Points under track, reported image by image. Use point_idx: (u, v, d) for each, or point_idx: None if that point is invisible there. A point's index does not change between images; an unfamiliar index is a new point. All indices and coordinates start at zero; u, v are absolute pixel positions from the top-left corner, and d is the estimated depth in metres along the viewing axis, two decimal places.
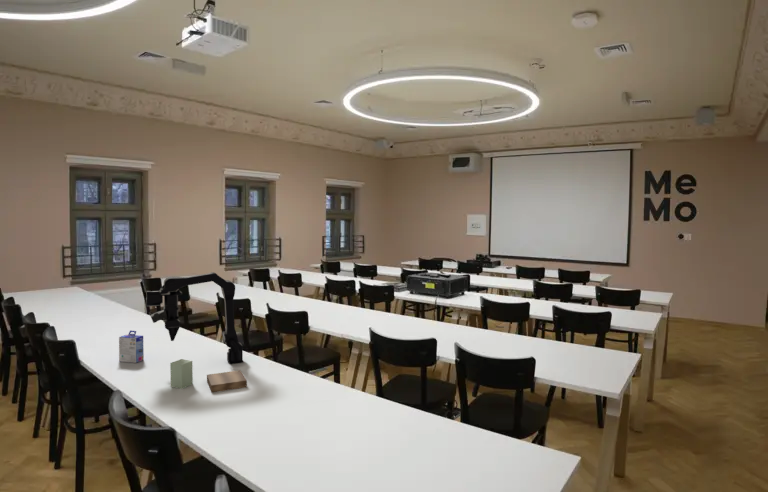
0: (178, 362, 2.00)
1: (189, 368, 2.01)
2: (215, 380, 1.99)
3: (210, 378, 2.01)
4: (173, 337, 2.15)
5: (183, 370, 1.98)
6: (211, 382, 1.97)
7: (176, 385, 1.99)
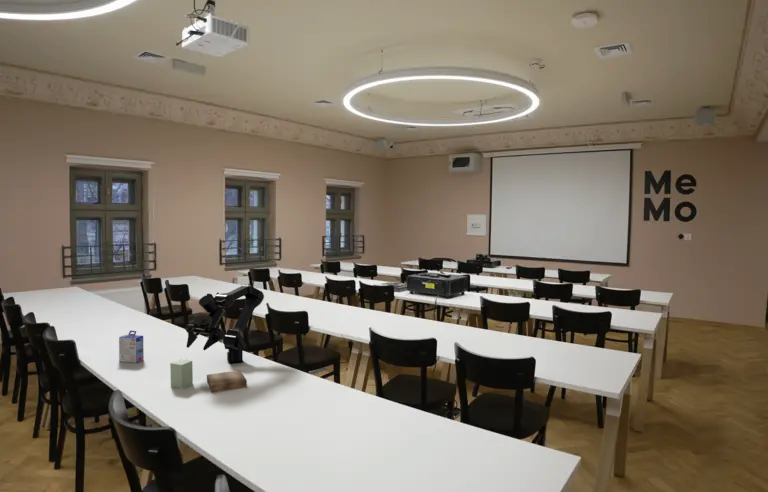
0: (178, 362, 2.00)
1: (189, 368, 2.01)
2: (215, 380, 1.99)
3: (210, 378, 2.01)
4: (207, 347, 2.07)
5: (183, 370, 1.98)
6: (211, 382, 1.97)
7: (176, 385, 1.99)
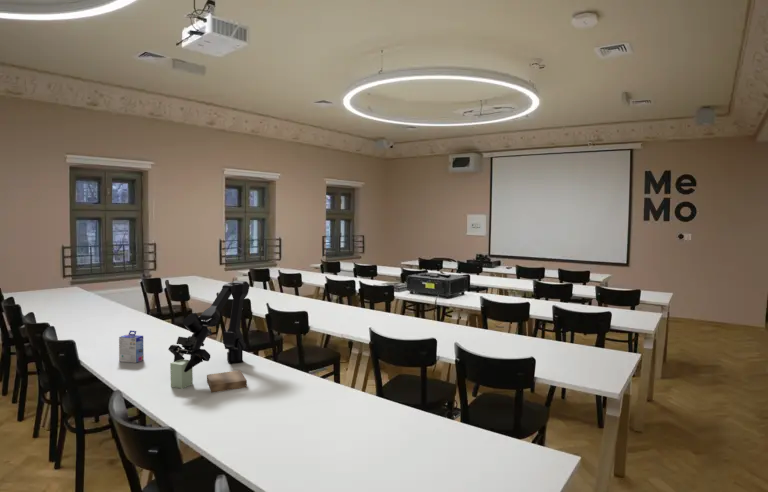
0: (178, 362, 2.00)
1: None
2: (215, 380, 1.99)
3: (210, 378, 2.01)
4: (188, 368, 2.00)
5: (183, 370, 1.98)
6: (211, 382, 1.97)
7: (176, 385, 1.99)
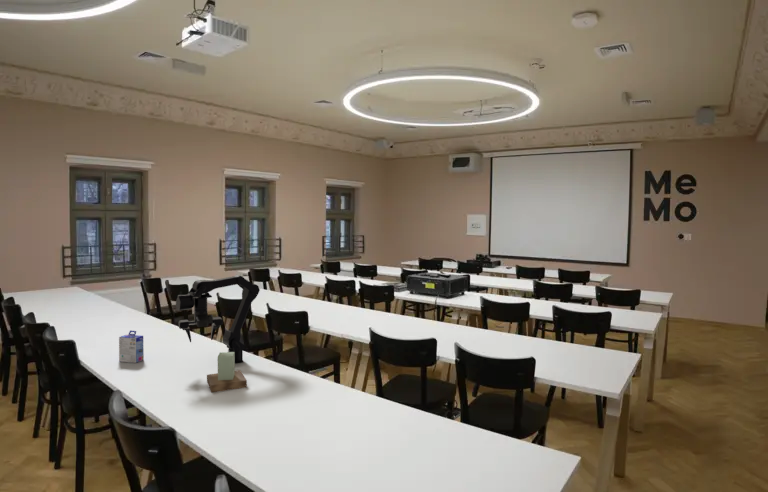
0: (224, 355, 2.01)
1: (234, 359, 2.04)
2: (215, 380, 1.99)
3: (210, 378, 2.01)
4: None
5: (233, 361, 2.01)
6: (211, 382, 1.97)
7: (225, 377, 2.00)
